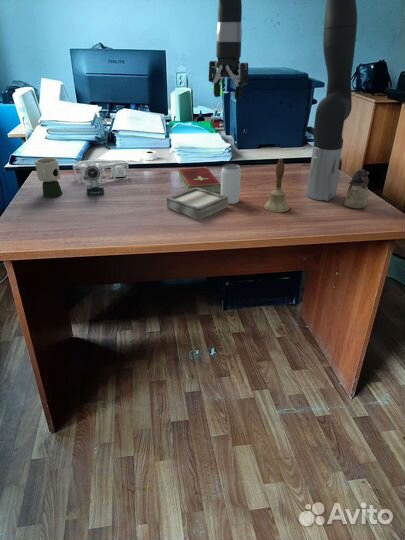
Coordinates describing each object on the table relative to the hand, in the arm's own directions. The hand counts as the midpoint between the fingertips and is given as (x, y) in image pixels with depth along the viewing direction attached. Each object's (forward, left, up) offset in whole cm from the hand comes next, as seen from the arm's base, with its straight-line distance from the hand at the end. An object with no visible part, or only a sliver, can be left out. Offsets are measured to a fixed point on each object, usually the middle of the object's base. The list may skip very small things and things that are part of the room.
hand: (227, 98), depth 128 cm
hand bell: (-23, +1, -32) cm, 39 cm away
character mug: (+39, +46, -32) cm, 68 cm away
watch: (+31, +34, -32) cm, 55 cm away
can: (-8, +7, -32) cm, 33 cm away
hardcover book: (+11, +2, -32) cm, 34 cm away
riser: (-4, +19, -31) cm, 37 cm away
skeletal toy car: (+41, +23, -32) cm, 57 cm away
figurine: (-41, -19, -32) cm, 55 cm away
